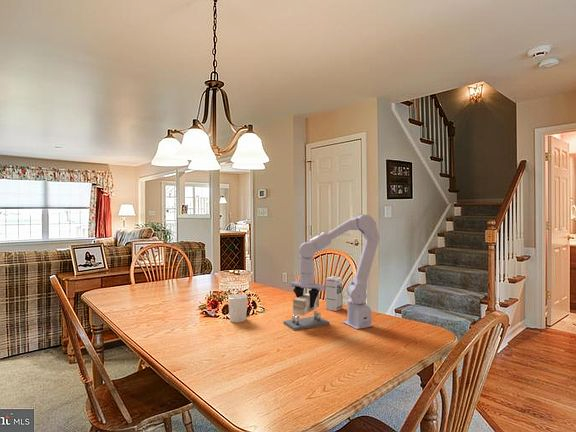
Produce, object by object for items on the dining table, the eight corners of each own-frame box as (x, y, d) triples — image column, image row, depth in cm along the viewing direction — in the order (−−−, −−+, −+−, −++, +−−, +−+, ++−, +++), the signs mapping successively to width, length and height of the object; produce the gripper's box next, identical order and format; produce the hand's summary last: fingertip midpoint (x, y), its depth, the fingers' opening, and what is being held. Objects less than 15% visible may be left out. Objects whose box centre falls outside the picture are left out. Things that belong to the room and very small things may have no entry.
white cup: (224, 321, 150) (224, 297, 149) (235, 316, 157) (235, 293, 156) (240, 324, 146) (240, 299, 146) (251, 318, 153) (251, 295, 153)
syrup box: (336, 311, 164) (336, 279, 163) (325, 309, 167) (325, 277, 167) (342, 308, 168) (342, 277, 168) (331, 306, 172) (331, 275, 172)
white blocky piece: (303, 315, 139) (303, 301, 139) (293, 313, 141) (293, 299, 141) (318, 306, 151) (318, 293, 151) (309, 305, 153) (309, 292, 153)
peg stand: (317, 318, 154) (317, 308, 154) (329, 324, 146) (329, 314, 146) (283, 323, 147) (283, 313, 147) (294, 330, 139) (294, 320, 139)
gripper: (327, 272, 146) (327, 306, 146) (295, 269, 153) (295, 301, 153) (320, 275, 139) (319, 310, 140) (287, 272, 147) (287, 305, 147)
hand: (306, 306), depth 146 cm, fingers closed on white blocky piece, 4 cm apart
